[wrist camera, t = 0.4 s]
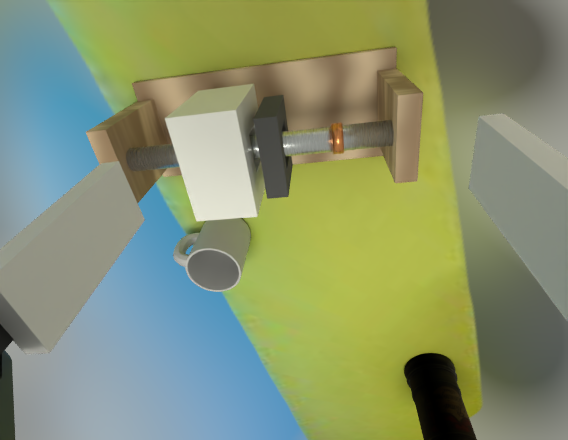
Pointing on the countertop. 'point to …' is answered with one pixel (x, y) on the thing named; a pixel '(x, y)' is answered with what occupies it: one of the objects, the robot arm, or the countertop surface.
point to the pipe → (294, 143)
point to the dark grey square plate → (273, 146)
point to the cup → (215, 253)
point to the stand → (298, 104)
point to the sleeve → (218, 152)
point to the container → (438, 398)
